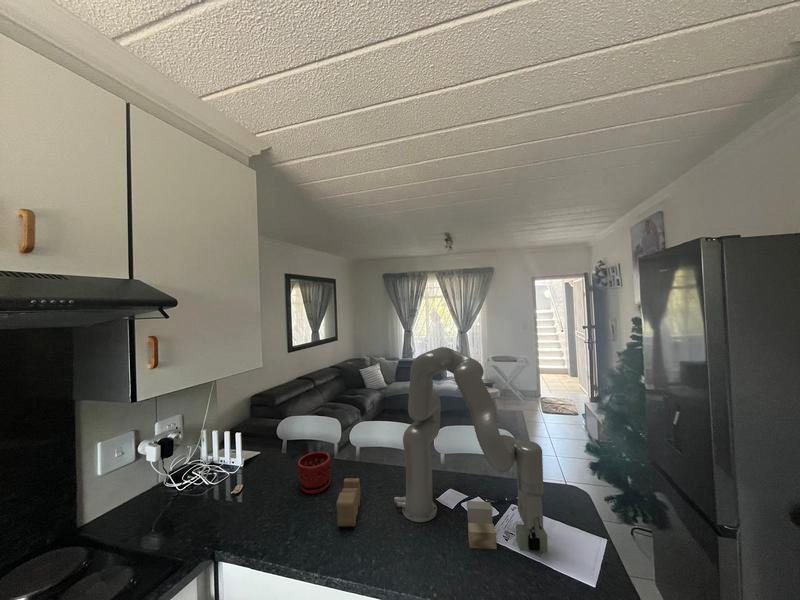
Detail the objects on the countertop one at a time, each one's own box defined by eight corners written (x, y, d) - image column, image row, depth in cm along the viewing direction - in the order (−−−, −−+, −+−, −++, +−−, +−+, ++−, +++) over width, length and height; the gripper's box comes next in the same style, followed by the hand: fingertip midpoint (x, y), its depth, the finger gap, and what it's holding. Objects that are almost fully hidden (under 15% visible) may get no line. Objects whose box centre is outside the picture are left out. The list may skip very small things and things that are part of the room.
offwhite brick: (468, 522, 106) (468, 508, 106) (467, 515, 110) (467, 500, 110) (492, 524, 105) (492, 509, 105) (490, 516, 109) (490, 502, 109)
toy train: (360, 500, 119) (360, 474, 119) (353, 533, 102) (352, 502, 102) (346, 500, 119) (345, 474, 119) (336, 533, 102) (336, 502, 102)
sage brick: (520, 550, 93) (519, 533, 93) (516, 540, 97) (516, 524, 97) (547, 551, 93) (547, 535, 93) (542, 541, 97) (542, 525, 97)
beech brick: (470, 548, 95) (469, 531, 95) (468, 538, 99) (467, 522, 99) (496, 549, 94) (496, 533, 94) (493, 539, 98) (493, 523, 98)
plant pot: (317, 475, 137) (316, 448, 138) (337, 485, 130) (337, 456, 130) (291, 490, 127) (291, 460, 127) (312, 501, 119) (311, 470, 119)
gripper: (510, 469, 104) (511, 524, 104) (526, 500, 87) (527, 566, 87) (533, 469, 103) (534, 525, 103) (553, 501, 87) (555, 567, 86)
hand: (531, 543), depth 95 cm, fingers closed on sage brick, 4 cm apart
